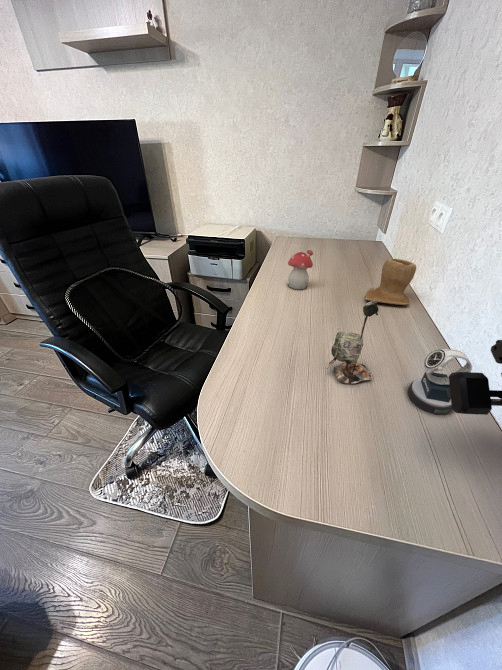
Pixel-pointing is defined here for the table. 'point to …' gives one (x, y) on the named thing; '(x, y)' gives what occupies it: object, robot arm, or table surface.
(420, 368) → the table surface
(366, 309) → the plant with pod
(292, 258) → the decorative ornament
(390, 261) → the brown suede boot
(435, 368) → the watch
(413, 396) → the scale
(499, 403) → the robot arm
